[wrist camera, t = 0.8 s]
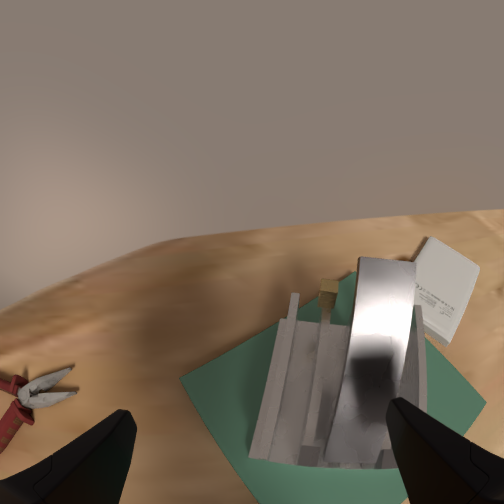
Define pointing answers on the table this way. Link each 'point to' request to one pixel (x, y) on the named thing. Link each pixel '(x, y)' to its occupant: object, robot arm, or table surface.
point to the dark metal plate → (372, 359)
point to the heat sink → (321, 387)
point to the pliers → (28, 401)
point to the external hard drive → (443, 288)
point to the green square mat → (300, 477)
